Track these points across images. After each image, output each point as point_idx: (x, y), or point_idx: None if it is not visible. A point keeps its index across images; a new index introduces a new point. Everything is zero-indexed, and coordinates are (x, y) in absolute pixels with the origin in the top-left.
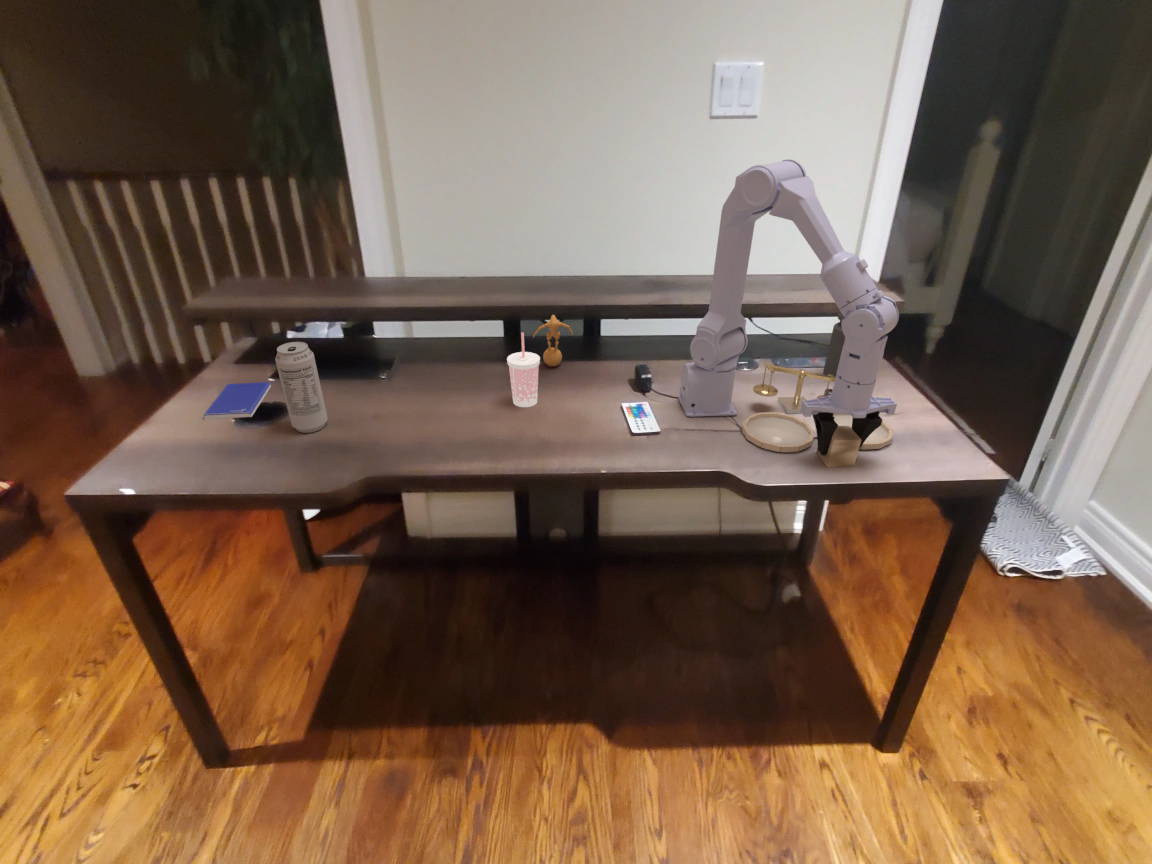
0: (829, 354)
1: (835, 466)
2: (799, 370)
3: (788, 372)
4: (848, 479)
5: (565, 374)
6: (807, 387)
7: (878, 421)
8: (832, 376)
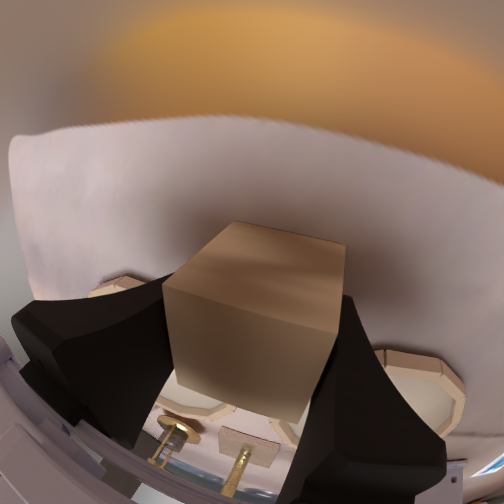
0: None
1: (310, 237)
2: None
3: None
4: (311, 138)
5: (480, 495)
6: (198, 451)
7: (17, 323)
8: None
